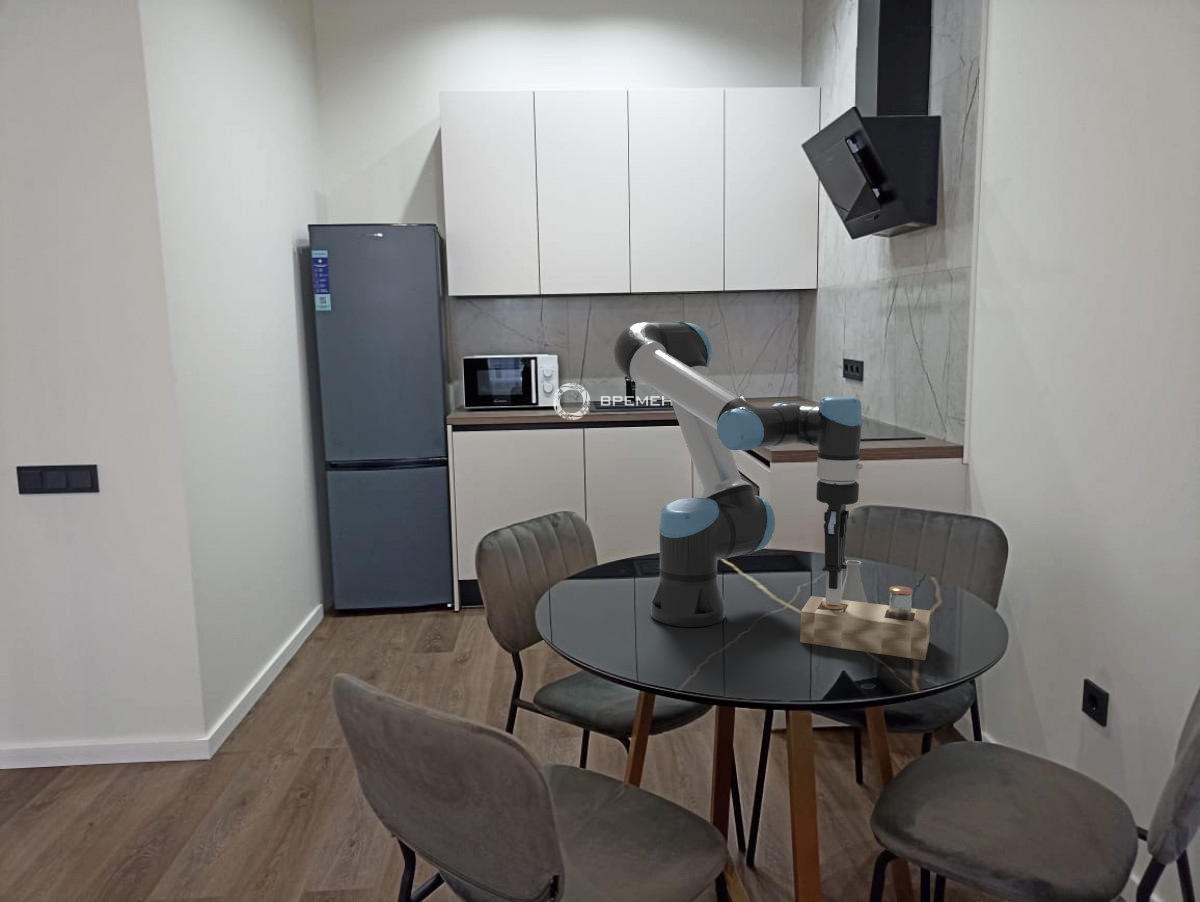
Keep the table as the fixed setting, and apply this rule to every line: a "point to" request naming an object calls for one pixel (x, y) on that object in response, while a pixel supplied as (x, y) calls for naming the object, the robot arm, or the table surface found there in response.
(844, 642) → the oak block
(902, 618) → the peg right
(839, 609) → the peg left
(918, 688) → the table surface
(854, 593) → the flask
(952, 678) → the table surface
